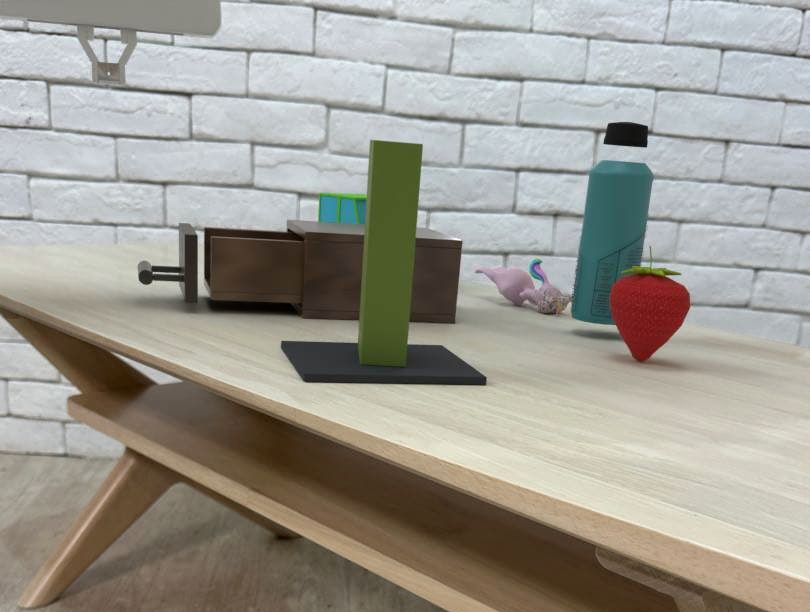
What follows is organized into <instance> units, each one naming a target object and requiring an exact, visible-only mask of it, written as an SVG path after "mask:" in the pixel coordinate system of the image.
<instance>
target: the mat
mask: <svg viewBox="0 0 810 612" xmlns="http://www.w3.org/2000/svg"><path fill="white" fill-rule="evenodd" d="M280 349H281V350H282V352H283V353H284V354H285V356H286V358H287V359H288V360H289V362H290V364H291V365H292V366H293V368H294V369H295V370H296V372H297V373H298V375H299V377H300V378H301V379H302V380H303V382H306V383H307V382H308V383H309V382H312V383H317V382H318V383H361V384H362V383H364V384H365V383H367V384H368V383H370V384H372V383H373V384H425V385H426V384H428V385H478V386H479V385H481V386H482V385H483V386H485V385H487V380H488V377H487V376H486V375H484V374H483V373H482V372H480V371H479V370H477V368H475V367H473V366H472V365H471V364H469V363H468V362H467V361H465V360H464V359H462V358H461V357H459V356H458V355H457V354H455V353H454V352H452V351H451V350H449V349H448V348H447V347H445V346H444V345H442V344H417V343H416V344H413V343H410V344H409V343H408V344H407V357H406V367H390V366H374V365H361V364H360V359H359V353H358V342H341V341H340V342H339V341H309V340H308V341H304V340H281V341H280Z"/></svg>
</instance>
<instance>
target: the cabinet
mask: <svg viewBox="0 0 810 612" xmlns="http://www.w3.org/2000/svg"><path fill="white" fill-rule="evenodd" d="M285 232H295V233H296V234H298V235H299V236H301V237H302V238H304V239H305V240H304V264H303V291H302V303H289V304H290V305H291V306H292V308H293V309H294V310H295V311H296V312H297V313H298V314H299V316H300V317H301V318H302V319H319V320H320V319H325V320H353V321H354V320H355V321H359V317H360V300H361V283H362V267H363V250H364V233H365V224H351V223H335V222H318V220H317V221H315V220H302V219H301V220H300V219H286V231H285ZM463 242H464V241H463V240H462V239H459V238H456V237H454V236H451V235H448V234H445V233H443V232H440V231H437V230H435V229H431V228H429V227H418V226H417V228H416V241H415V254H414V267H413V280H412V292H411V305H410V318H409V323H410V322H411V323H416V322H417V323H438V324H442V323H443V324H455V323H456V316H457V307H458V306H457V304H458V295H459V283H460V273H461V272H460V271H461V263H462V252H463Z"/></svg>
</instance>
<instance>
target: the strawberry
mask: <svg viewBox="0 0 810 612" xmlns="http://www.w3.org/2000/svg"><path fill="white" fill-rule="evenodd" d="M652 256H653V255H652V246H651V245H649V257H650V259H649V261H650V263H649V266H633V267H632V268H633V269H626V271H622V272H621V273H625V274H635V275H631V276H627V277H623V278H620V279H619V280H618V281H617V282H616V283H615V284H614V285H613V288H612V290H611V293H610V296H609V299H610V307H611V315H612V318H613V320H614V322H615V324H616V325H615V326H616V329H617V331H618V333H619V335H620V337H621V338H622V340H623V342H624V343H625V345H626V346H627V348H628V350H629V352H630V354H631V356H632V358H633V359H634V360H635V361H637V362H645V361H648V360H649V359H651V357H652V356H653V355H654V354H655V353H656V352H657V351H659V349H661V348H662V347H663V346H664V345H665V344H666V343H667V342H668V341H669V340H670V339H671V338H672V337H673V336H674V335H675V334H676V333H677V332H678V331H679V329H681V327H682V326H683V324H684V322H685V320H686V318H687V315H688V313H689V311H690V309H691V294H690V292H689V290H688V289H687V288H686V286H685V285H684V284H681V283H680V282H679V281H676V280H674V279H672V278H670V277H668V276H682V273H681V272H678V271H675V270H671V269H667V267H653V268H652V264H653V263H652V262H653V257H652Z"/></svg>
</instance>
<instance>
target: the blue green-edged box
mask: <svg viewBox="0 0 810 612" xmlns="http://www.w3.org/2000/svg"><path fill="white" fill-rule="evenodd" d="M366 199H367V193H340V192H339V193H336V192H335V193H334V192H333V193H332V192H319V193H318V216H317V221H318V222H335V223H351V224H365V216H366Z"/></svg>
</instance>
